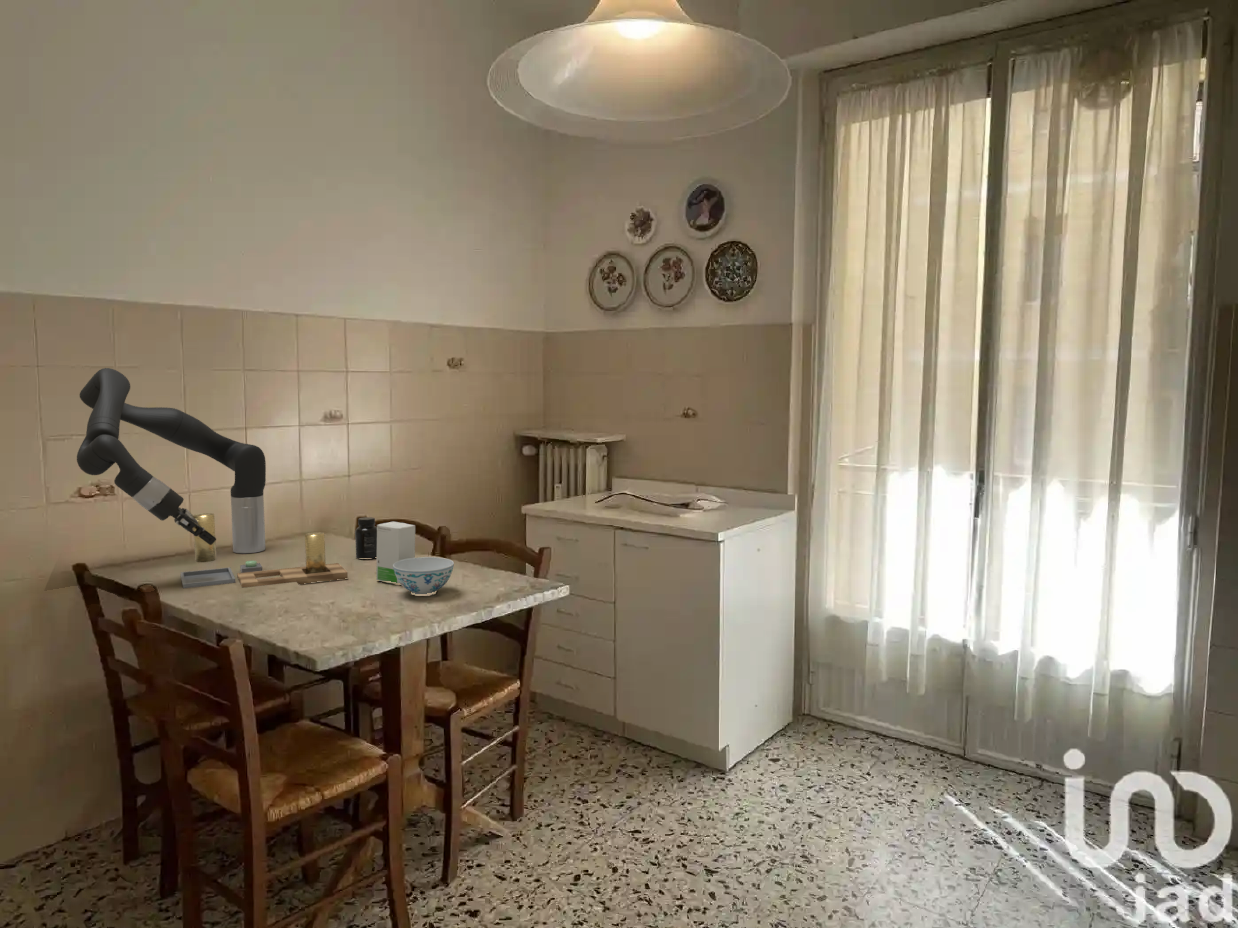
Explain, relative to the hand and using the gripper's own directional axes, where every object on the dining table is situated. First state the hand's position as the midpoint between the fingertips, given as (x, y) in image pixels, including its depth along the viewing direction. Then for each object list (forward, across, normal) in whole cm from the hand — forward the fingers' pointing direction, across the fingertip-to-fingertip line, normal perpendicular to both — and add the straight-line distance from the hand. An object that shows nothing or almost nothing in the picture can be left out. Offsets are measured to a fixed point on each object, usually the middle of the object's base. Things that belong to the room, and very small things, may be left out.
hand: (212, 539), depth 215 cm
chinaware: (+40, +36, +24) cm, 59 cm away
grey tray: (+7, 0, -9) cm, 11 cm away
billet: (+2, 0, -5) cm, 6 cm away
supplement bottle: (+38, -11, +21) cm, 45 cm away
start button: (+13, -4, 0) cm, 14 cm away
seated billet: (+25, +7, +9) cm, 28 cm away
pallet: (+21, +7, +5) cm, 23 cm away
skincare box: (+38, +21, +22) cm, 49 cm away
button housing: (+15, -4, -2) cm, 15 cm away
